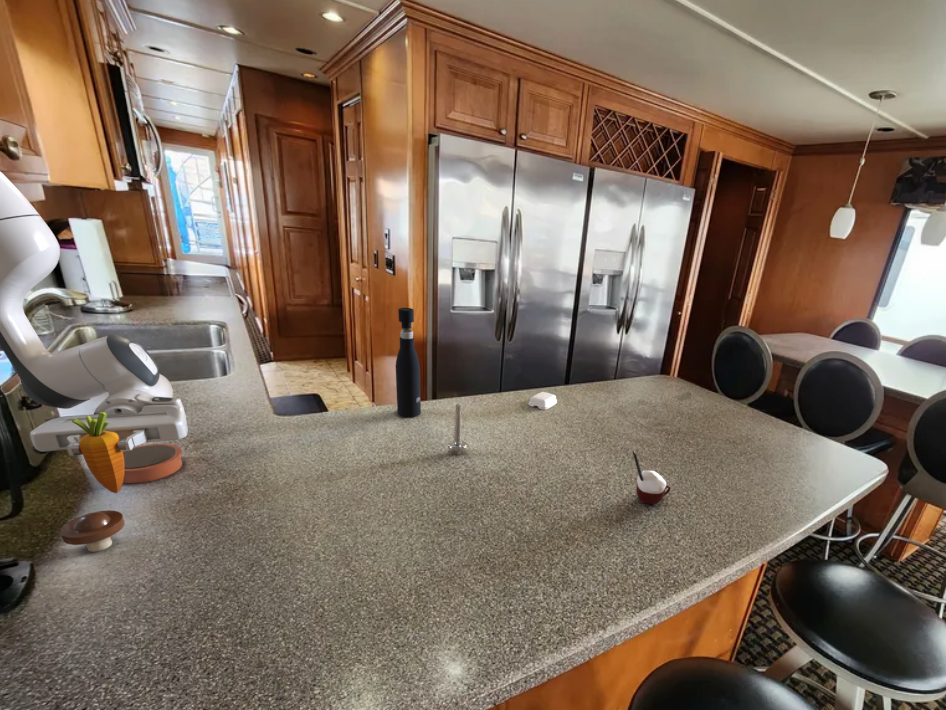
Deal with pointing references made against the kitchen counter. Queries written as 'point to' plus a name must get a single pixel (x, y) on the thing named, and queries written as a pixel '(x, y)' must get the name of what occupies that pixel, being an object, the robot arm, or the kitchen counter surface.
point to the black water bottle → (407, 369)
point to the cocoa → (650, 485)
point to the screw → (457, 434)
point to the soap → (543, 400)
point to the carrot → (102, 452)
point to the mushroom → (93, 529)
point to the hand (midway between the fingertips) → (99, 449)
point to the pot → (151, 462)
